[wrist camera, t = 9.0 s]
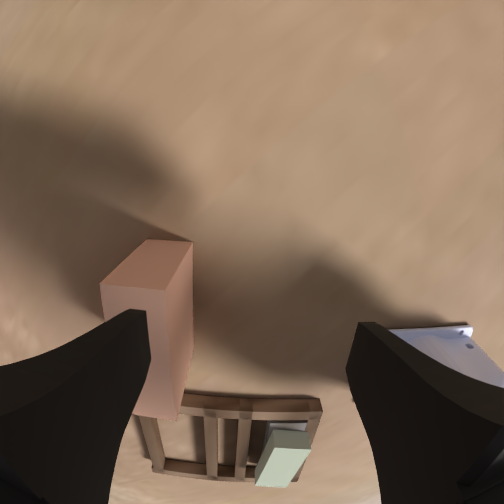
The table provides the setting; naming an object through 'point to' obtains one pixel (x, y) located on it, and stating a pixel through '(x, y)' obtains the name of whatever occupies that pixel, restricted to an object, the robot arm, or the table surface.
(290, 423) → the lower offcut
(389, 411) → the robot arm
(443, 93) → the table surface
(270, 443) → the upper offcut
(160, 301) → the pink rectangular prism
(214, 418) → the rack
